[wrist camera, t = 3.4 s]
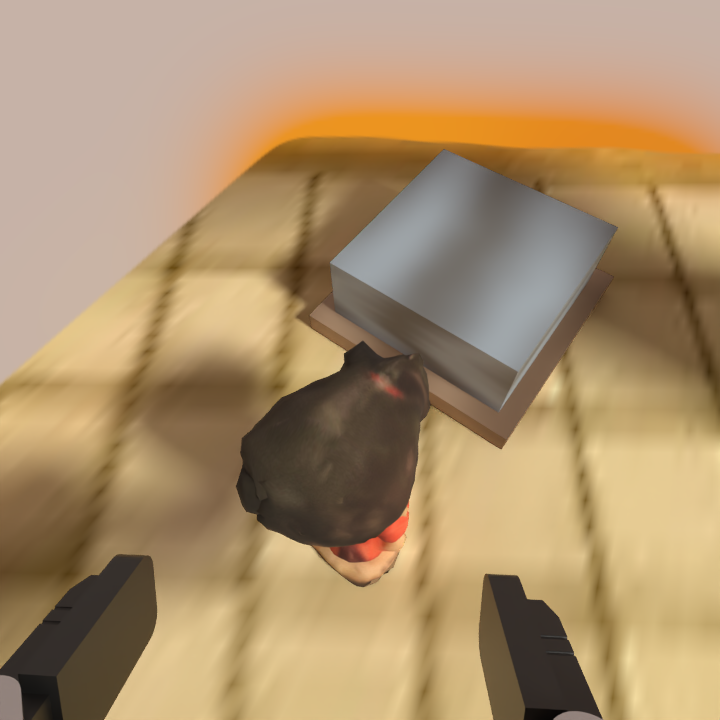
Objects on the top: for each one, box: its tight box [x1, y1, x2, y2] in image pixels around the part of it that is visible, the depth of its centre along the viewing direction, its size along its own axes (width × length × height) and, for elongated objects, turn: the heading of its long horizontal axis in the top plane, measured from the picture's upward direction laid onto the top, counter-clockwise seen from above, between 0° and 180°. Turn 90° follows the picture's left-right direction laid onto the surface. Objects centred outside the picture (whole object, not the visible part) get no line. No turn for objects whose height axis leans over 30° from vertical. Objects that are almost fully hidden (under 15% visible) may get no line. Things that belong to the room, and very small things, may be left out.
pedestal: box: [309, 149, 618, 449], centre depth 28 cm, size 12×12×5 cm
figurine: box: [236, 341, 431, 587], centre depth 19 cm, size 6×6×12 cm
